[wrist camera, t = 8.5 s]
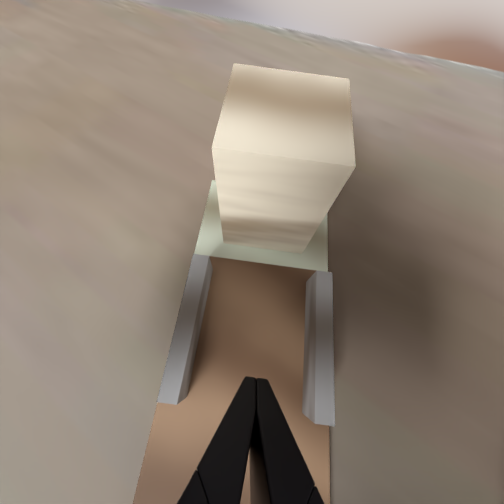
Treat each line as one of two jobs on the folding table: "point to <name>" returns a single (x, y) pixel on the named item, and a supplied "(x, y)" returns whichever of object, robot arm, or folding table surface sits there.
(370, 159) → the folding table surface
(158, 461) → the chute
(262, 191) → the block
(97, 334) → the folding table surface
